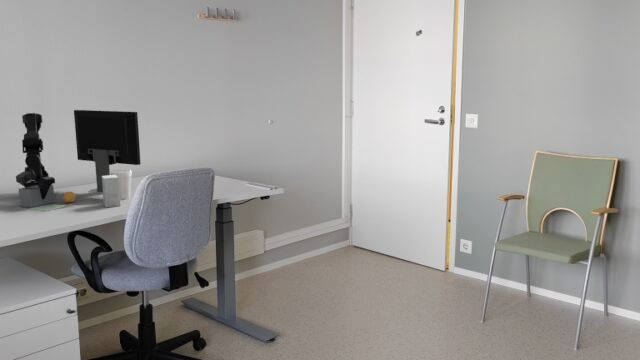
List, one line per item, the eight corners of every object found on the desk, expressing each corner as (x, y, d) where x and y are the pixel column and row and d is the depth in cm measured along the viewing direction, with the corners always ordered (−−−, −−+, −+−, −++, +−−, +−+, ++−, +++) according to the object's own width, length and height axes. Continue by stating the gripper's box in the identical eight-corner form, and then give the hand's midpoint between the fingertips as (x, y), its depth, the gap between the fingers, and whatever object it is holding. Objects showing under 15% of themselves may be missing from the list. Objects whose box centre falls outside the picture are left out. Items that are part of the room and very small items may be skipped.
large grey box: (20, 205, 272) (18, 188, 270) (43, 200, 283) (41, 184, 281) (32, 207, 269) (30, 190, 267) (54, 202, 279) (53, 185, 278)
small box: (120, 206, 271) (118, 177, 269) (105, 207, 268) (103, 178, 266) (118, 202, 278) (116, 174, 276) (103, 204, 275) (101, 175, 273)
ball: (61, 202, 278) (60, 192, 277) (70, 200, 282) (69, 190, 282) (69, 203, 276) (68, 193, 275) (77, 201, 280) (77, 191, 279)
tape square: (30, 209, 266) (30, 208, 266) (49, 204, 275) (49, 204, 275) (46, 211, 262) (46, 210, 262) (65, 206, 271) (65, 206, 271)
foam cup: (126, 200, 282) (124, 173, 279) (108, 200, 284) (106, 172, 281) (136, 196, 291) (135, 169, 289) (119, 195, 293) (117, 169, 290)
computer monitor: (145, 193, 297) (140, 111, 290) (133, 196, 290) (127, 112, 283) (86, 186, 316) (80, 109, 309) (73, 189, 309) (66, 110, 301)
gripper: (3, 165, 269) (7, 200, 272) (33, 168, 261) (36, 203, 264) (25, 162, 279) (28, 195, 282) (54, 164, 271) (57, 199, 274)
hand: (37, 198), depth 275 cm, fingers closed on large grey box, 8 cm apart
